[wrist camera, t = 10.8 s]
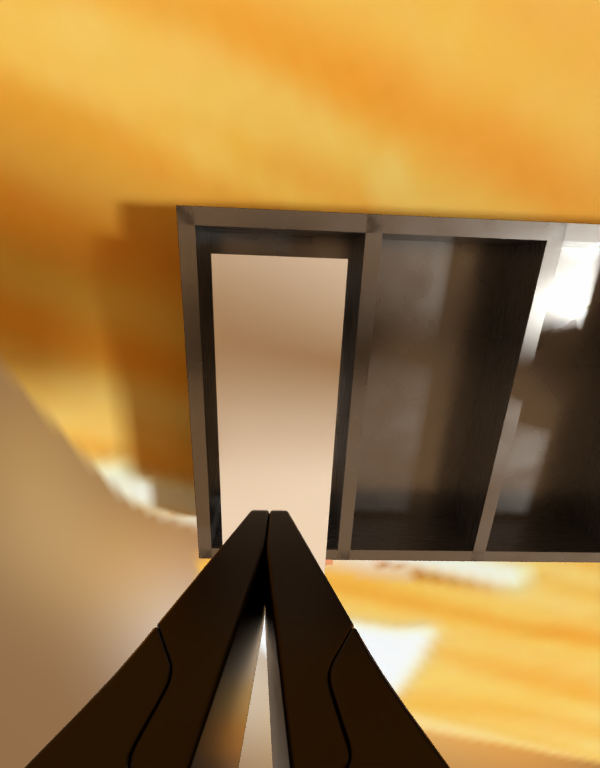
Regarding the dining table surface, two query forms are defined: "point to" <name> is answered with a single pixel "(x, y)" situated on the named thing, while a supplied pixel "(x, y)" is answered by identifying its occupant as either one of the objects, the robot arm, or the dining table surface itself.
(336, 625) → the robot arm
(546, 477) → the divided tray
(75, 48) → the dining table surface
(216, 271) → the blanking panel
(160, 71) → the dining table surface
